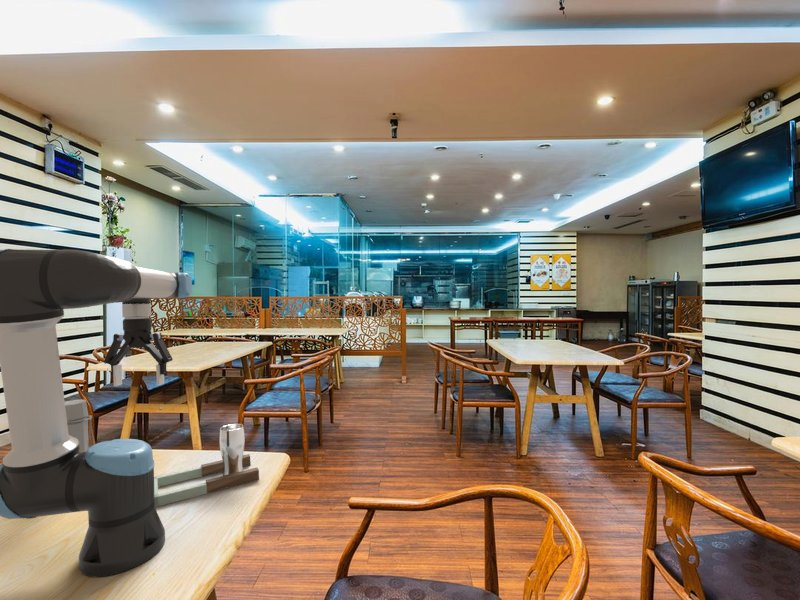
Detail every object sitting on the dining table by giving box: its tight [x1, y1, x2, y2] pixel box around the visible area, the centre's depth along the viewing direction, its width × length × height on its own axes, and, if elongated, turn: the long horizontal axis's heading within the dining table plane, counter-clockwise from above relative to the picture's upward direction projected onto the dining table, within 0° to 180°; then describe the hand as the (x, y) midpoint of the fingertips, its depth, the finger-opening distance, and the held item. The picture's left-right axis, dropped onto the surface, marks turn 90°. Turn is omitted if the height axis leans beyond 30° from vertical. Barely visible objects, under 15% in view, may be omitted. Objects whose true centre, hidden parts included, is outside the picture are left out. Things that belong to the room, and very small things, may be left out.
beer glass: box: [219, 423, 245, 476], centre depth 120 cm, size 7×7×15 cm
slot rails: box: [200, 453, 260, 494], centre depth 119 cm, size 14×14×3 cm
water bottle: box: [65, 399, 96, 452], centre depth 115 cm, size 9×8×25 cm
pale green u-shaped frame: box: [154, 466, 208, 508], centre depth 112 cm, size 14×13×2 cm
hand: (139, 385), depth 125 cm, fingers open, 13 cm apart
